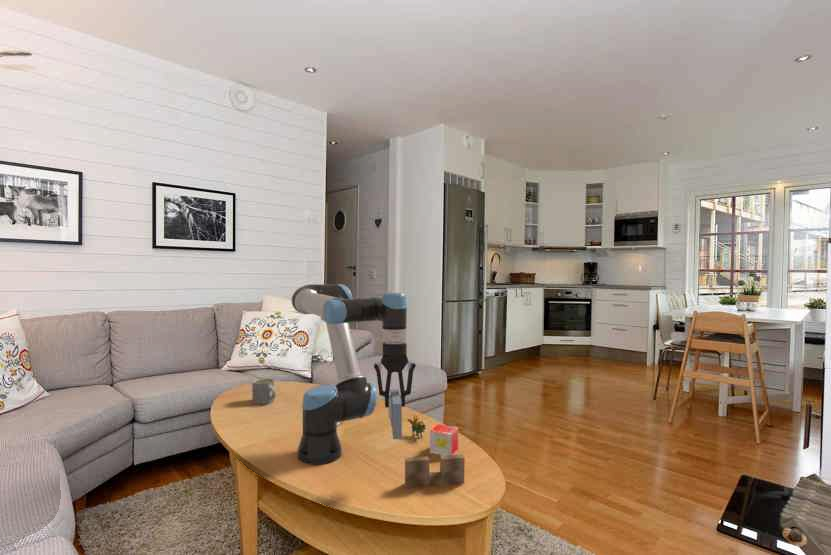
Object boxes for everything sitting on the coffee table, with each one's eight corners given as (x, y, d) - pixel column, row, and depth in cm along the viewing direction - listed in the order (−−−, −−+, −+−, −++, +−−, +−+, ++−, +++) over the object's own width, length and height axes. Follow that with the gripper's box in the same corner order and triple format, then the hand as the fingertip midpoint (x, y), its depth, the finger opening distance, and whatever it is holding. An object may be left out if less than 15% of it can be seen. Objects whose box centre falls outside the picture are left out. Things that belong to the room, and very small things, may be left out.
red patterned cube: (429, 453, 156) (430, 431, 155) (437, 445, 163) (437, 423, 163) (451, 457, 152) (451, 434, 152) (458, 448, 160) (458, 427, 159)
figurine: (422, 441, 166) (422, 420, 165) (403, 431, 175) (403, 411, 175) (428, 439, 167) (428, 418, 167) (410, 430, 177) (410, 410, 177)
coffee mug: (248, 401, 212) (248, 380, 212) (268, 397, 219) (268, 377, 219) (261, 407, 203) (261, 386, 202) (281, 403, 210) (281, 382, 209)
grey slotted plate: (393, 439, 124) (393, 404, 124) (390, 420, 140) (390, 389, 140) (401, 439, 124) (401, 403, 124) (398, 420, 140) (397, 389, 140)
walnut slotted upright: (405, 487, 131) (406, 461, 131) (404, 483, 134) (405, 457, 133) (464, 483, 134) (464, 457, 134) (462, 479, 136) (462, 454, 136)
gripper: (369, 344, 132) (370, 422, 132) (420, 343, 134) (421, 420, 134) (369, 340, 140) (370, 414, 140) (417, 339, 141) (418, 412, 141)
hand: (395, 417), depth 137 cm, fingers closed on grey slotted plate, 2 cm apart
